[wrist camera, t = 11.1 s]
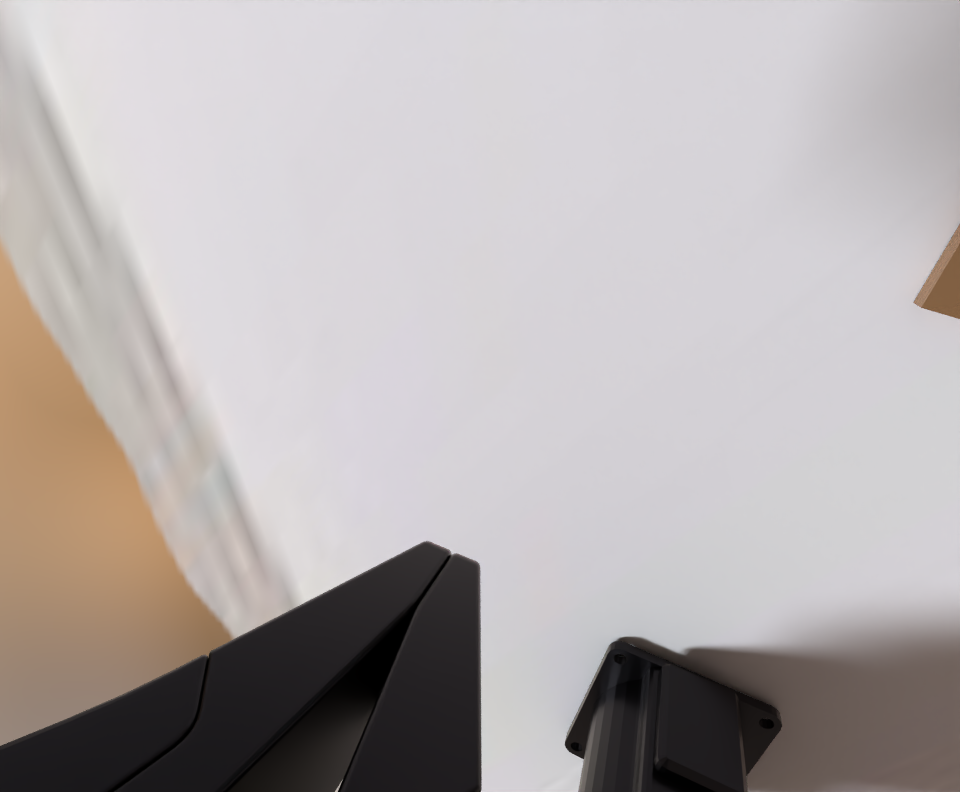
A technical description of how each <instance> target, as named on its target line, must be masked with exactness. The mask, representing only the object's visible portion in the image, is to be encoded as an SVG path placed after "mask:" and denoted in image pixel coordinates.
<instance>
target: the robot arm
mask: <svg viewBox="0 0 960 792" xmlns="http://www.w3.org/2000/svg"><path fill="white" fill-rule="evenodd" d="M617 654H622V655H624V657H621V656H618V655H617ZM762 718H767V719H768V720H765V719H762ZM781 727H782V724H781V717H780V713H779V711H778V710H777V709H776V708H774V707H773V706H771V705H769V704H766V703H764V702H762V701H759V700H757V699H755V698H752V697H750V696H748V695H745V694H743V693H741V692H739V691H736V690H734V689H732V688H729V687H727V686H725V685H722V684H720V683H718V682H715V681H713V680H711V679H709V678H706V677H704V676H702V675H699V674H697V673H695V672H692V671H690V670H688V669H685V668H683V667H681V666H679V665H676V664H674V663H672V662H669V661H667V660H665V659H662V658H660V657H658V656H655V655H653V654H651V653H649V652H646V651H644V650H642V649H639V648H637V647H635V646H632V645H630V644H628V643H625V642H622V641H615V642H613V643H611V644H610V645H609V647H608V649H607V651H606V653H605V655H604V657H603V659H602V662H601V664H600V666H599V668H598V670H597V672H596V674H595V676H594V678H593V680H592V682H591V684H590V687H589V689H588V691H587V693H586V695H585V697H584V699H583V701H582V703H581V705H580V707H579V709H578V712H577V714H576V716H575V718H574V720H573V722H572V724H571V726H570V728H569V730H568V732H567V736H566V741H565V746H566V748H567V750H568V751H569V752H571V753H572V754H574V755H576V756H578V757H580V758H583V759H584V762H583V768H582V774H581V779H580V785H579V791H578V792H748V789H747V778H746V776H747V775H748V773H749V772H750V771H751V769H752V768H753V767H754V765H755V764H756V762H757V761H758V760H759V758H760V757H761V756H762V754H763V753H764V752H765V750H766V749H767V747H768V746H769V745H770V743H771V742H772V741H773V739H774V738H775V737H776V735H777V734H778V733H779V731H780V730H781ZM342 779H343V781H342ZM341 781H342V783H341ZM340 783H341V785H340V788H339V790H338V792H481V618H480V565H479V563H478V562H476V561H474V560H472V559H469V558H467V557H465V556H462V555H460V554H457V553H456V554H453V555H451V552H450V550H448V549H446V548H444V547H441V546H439V545H437V544H434V543H432V542H429V541H426V542H422V543H420V544H418V545H416V546H414V547H412V548H411V549H409V550H407V551H405V552H403V553H401V554H399V555H397V556H395V557H393V558H391V559H389V560H387V561H385V562H383V563H381V564H379V565H377V566H376V567H374V568H372V569H370V570H368V571H366V572H364V573H362V574H360V575H358V576H356V577H354V578H352V579H350V580H348V581H346V582H344V583H342V584H341V585H339V586H337V587H335V588H333V589H331V590H329V591H327V592H325V593H323V594H321V595H319V596H317V597H315V598H313V599H311V600H309V601H307V602H305V603H304V604H302V605H300V606H298V607H296V608H294V609H292V610H290V611H288V612H286V613H284V614H282V615H280V616H278V617H276V618H274V619H272V620H270V621H269V622H267V623H265V624H263V625H261V626H259V627H257V628H255V629H253V630H251V631H249V632H247V633H245V634H243V635H241V636H239V637H237V638H235V639H233V640H232V641H230V642H228V643H226V644H224V645H222V646H220V647H218V648H216V649H214V650H212V651H211V652H210V653H209V657H208V656H207V655H202V656H200V657H198V658H196V659H194V660H192V661H190V662H188V663H186V664H184V665H183V666H180V667H179V668H176V669H175V670H173V671H170V672H168V673H166V674H164V675H162V676H160V677H158V678H156V679H154V680H152V681H150V682H148V683H146V684H144V685H142V686H140V687H138V688H136V689H133V690H131V691H129V692H127V693H125V694H123V695H121V696H118V697H116V698H114V699H111V700H109V701H107V702H104V703H102V704H100V705H98V706H95V707H93V708H91V709H88V710H86V711H84V712H81V713H79V714H77V715H74V716H72V717H70V718H67V719H65V720H63V721H60V722H58V723H55V724H53V725H50V726H48V727H45V728H43V729H41V730H38V731H36V732H33V733H31V734H28V735H26V736H23V737H21V738H19V739H16V740H14V741H11V742H9V743H7V744H4V745H2V746H0V792H335V790H336V789H337V787H338V786H339V784H340Z"/></svg>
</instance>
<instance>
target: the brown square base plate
mask: <svg viewBox="0 0 960 792" xmlns="http://www.w3.org/2000/svg"><path fill="white" fill-rule="evenodd" d="M913 303H915V304H916V305H918V306H919V307H921V308H924V309H928V310H931V311H934V312H938V313H941V314H945V315H948V316H952V317H955V318H958V319H960V225H959V226H958V228H957V230H956V231H955V233H954V235H953V236H952V238H951V240H950V241H949V243H948V245H947V247H946V248H945V250H944V252H943V253H942V255H941V257H940V258H939V260H938V262H937V263H936V265H935V267H934V269H933V270H932V272H931V274H930V275H929V277H928V279H927V280H926V282H925V284H924V285H923V287H922V289H921V291H920V292H919V294H918V296H917V297H916V299H915V301H914V302H913Z"/></svg>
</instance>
